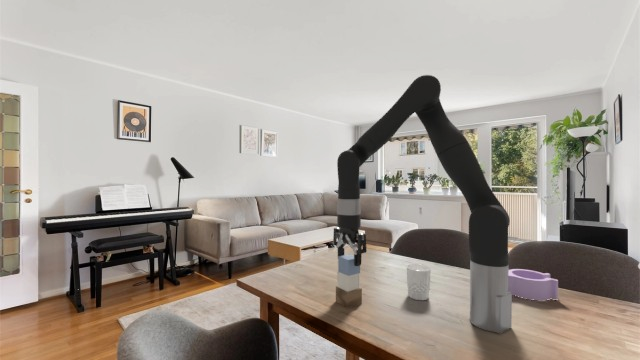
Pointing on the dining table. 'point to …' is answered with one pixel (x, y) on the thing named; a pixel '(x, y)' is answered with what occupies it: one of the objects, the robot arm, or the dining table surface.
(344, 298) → the tower base
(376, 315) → the dining table surface
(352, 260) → the blue cube
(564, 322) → the dining table surface
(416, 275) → the white cup
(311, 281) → the dining table surface
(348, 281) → the tower top
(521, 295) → the purple piece
